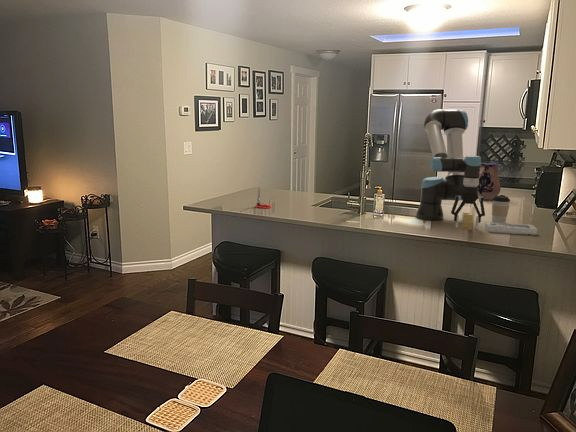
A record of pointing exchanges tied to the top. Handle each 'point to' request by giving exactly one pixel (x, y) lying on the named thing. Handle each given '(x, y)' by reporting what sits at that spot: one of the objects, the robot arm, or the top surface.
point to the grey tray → (510, 228)
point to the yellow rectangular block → (467, 221)
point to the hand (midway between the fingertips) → (466, 228)
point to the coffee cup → (500, 209)
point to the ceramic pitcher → (488, 181)
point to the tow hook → (259, 202)
